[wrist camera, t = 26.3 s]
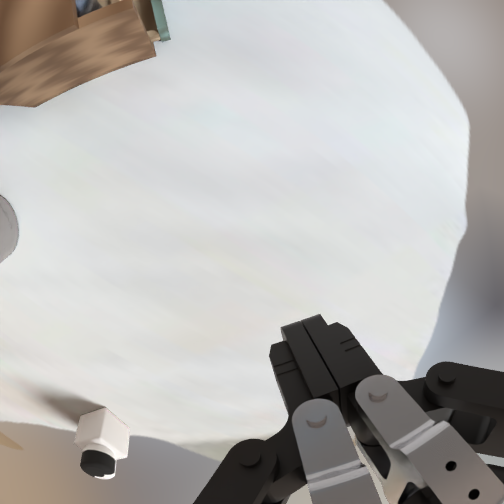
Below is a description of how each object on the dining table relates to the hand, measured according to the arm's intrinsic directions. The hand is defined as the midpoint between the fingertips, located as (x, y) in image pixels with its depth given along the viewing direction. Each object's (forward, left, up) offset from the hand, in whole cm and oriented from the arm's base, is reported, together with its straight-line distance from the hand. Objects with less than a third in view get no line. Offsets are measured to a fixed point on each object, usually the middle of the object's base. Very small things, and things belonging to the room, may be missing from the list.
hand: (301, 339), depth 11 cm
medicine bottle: (-38, -26, -27) cm, 54 cm away
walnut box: (-7, +27, -27) cm, 39 cm away
